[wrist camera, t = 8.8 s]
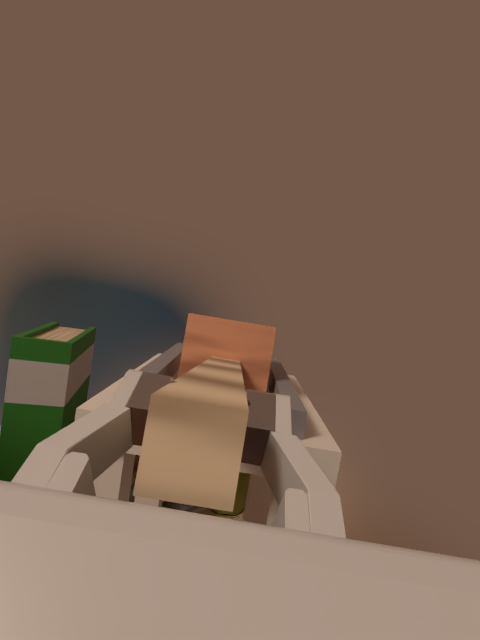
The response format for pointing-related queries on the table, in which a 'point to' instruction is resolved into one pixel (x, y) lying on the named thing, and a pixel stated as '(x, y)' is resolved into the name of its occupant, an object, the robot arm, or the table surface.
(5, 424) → the hardback book
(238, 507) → the plant pot
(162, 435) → the mallet
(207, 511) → the table surface
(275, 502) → the stand
